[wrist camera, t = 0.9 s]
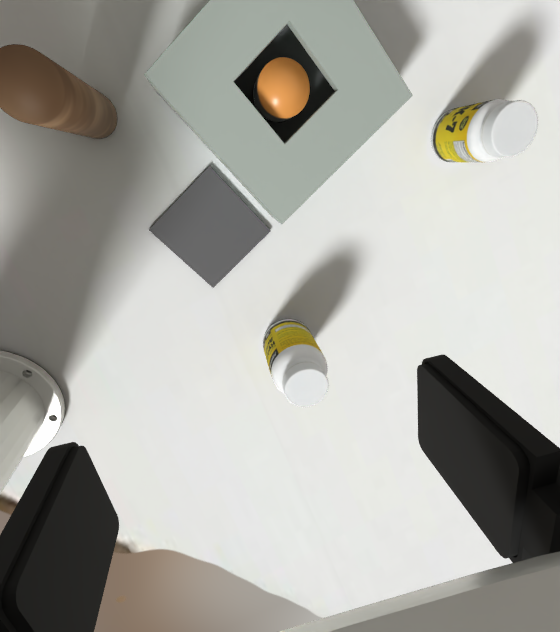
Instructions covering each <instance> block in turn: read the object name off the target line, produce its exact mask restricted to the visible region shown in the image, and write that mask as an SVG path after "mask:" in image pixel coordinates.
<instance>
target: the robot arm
mask: <svg viewBox="0 0 560 632" xmlns="http://www.w3.org/2000/svg"><path fill="white" fill-rule="evenodd" d="M417 385H418V439H419V444H420V446H421V448H422V450H423V452H424V453H425V454H426V456H427V457H428V459H429V460H430V461H431V463H432V464H433V465H434V467H435V468H436V469H437V471H438V472H439V473H440V475H441V476H442V477H443V479H444V480H445V481H446V483H447V484H448V485H449V487H450V488H451V490H452V491H453V492H454V494H455V495H456V496H457V498H458V499H459V500H460V502H461V503H462V504H463V506H464V507H465V508H466V510H467V511H468V512H469V514H470V515H471V517H472V518H473V519H474V521H475V522H476V523H477V525H478V526H479V527H480V529H481V530H482V531H483V533H484V534H485V535H486V537H487V538H488V539H489V541H490V542H491V543H492V545H493V546H494V548H495V549H496V550H497V552H498V553H499V554H500V555H501V556H502V557H503V558H510V560H511V561H512V562H513V563H512V564H508V565H504V566H501V567H497V568H493V569H490V570H486V571H482V572H479V573H475V574H472V575H468V576H465V577H461V578H458V579H455V580H451V581H448V582H444V583H441V584H438V585H434V586H431V587H427V588H424V589H420V590H417V591H414V592H410V593H407V594H403V595H400V596H397V597H393V598H390V599H386V600H383V601H380V602H376V603H373V604H369V605H366V606H363V607H359V608H356V609H353V610H349V611H346V612H342V613H339V614H336V615H332V616H329V617H326V618H322V619H319V620H316V621H313V622H309V623H306V624H302V625H299V626H296V627H292V628H289V629H286V630H283V631H279V632H560V448H559V447H557V446H556V445H555V444H554V443H552V442H551V441H550V440H549V439H548V438H546V437H545V436H544V435H543V434H541V433H540V432H539V431H538V430H537V429H535V428H534V427H533V426H532V425H530V424H529V423H528V422H527V421H526V420H524V419H523V418H522V417H521V416H519V415H518V414H517V413H516V412H514V411H513V410H512V409H511V408H510V407H508V406H507V405H506V404H505V403H503V402H502V401H501V400H500V399H499V398H497V397H496V396H495V395H494V394H492V393H491V392H490V391H489V390H488V389H486V388H485V387H484V386H483V385H481V384H480V383H479V382H478V381H477V380H475V379H474V378H473V377H472V376H470V375H469V374H468V373H467V372H466V371H464V370H463V369H462V368H461V367H459V366H458V365H457V364H456V363H454V362H453V361H452V360H451V359H450V358H448V357H447V356H445V355H439V356H435V357H430V358H426V359H424V360H423V362H422V365H419V366H418V368H417ZM64 412H65V404H64V399H63V395H62V393H61V391H60V388H59V386H58V385H57V384H56V382H55V381H54V379H53V378H52V377H51V376H50V375H49V374H48V373H47V372H46V371H45V370H44V369H42V368H41V367H40V366H38V365H37V364H35V363H34V362H32V361H30V360H28V359H26V358H24V357H22V356H19V355H16V354H13V353H9V352H5V351H0V494H1V492H2V491H3V489H4V487H5V486H6V484H7V483H8V481H9V479H10V478H11V476H12V475H13V473H14V471H15V470H16V468H17V467H18V465H19V463H20V462H21V460H22V459H23V457H24V456H27V455H30V454H33V453H35V452H36V451H38V450H40V449H42V448H43V447H44V446H46V445H47V444H48V443H49V442H50V441H51V440H52V439H53V438H54V436H55V435H56V434H57V432H58V430H59V428H60V426H61V424H62V421H63V418H64ZM118 530H119V520H118V516H117V514H116V512H115V510H114V507H113V505H112V503H111V501H110V499H109V497H108V495H107V492H106V490H105V488H104V486H103V484H102V482H101V480H100V477H99V475H98V473H97V471H96V469H95V467H94V465H93V462H92V460H91V458H90V456H89V454H88V452H87V450H86V448H85V447H84V446H78V444H77V443H75V442H71V443H67V444H63V445H59V446H54V447H51V448H49V449H48V451H47V452H46V454H45V456H44V458H43V459H42V461H41V463H40V465H39V467H38V468H37V470H36V472H35V474H34V476H33V477H32V479H31V481H30V483H29V485H28V486H27V488H26V490H25V492H24V494H23V495H22V497H21V499H20V501H19V502H18V504H17V506H16V508H15V510H14V511H13V513H12V515H11V517H10V519H9V521H8V522H7V524H6V526H5V528H4V530H3V531H2V533H1V535H0V632H94V629H95V625H96V621H97V617H98V612H99V608H100V604H101V600H102V596H103V592H104V588H105V584H106V580H107V575H108V571H109V567H110V563H111V559H112V555H113V551H114V547H115V543H116V539H117V535H118Z"/></svg>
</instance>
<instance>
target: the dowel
mask: <svg viewBox="0 0 560 632" xmlns="http://www.w3.org/2000/svg"><path fill="white" fill-rule="evenodd" d="M0 108H1V109H2V110H3V111H5V112H6V113H7V114H8V115H10V116H11V117H13V118H15V119H17V120H19V121H21V122H25V123H29V124H33V125H38V126H42V127H47V128H51V129H55V130H60V131H64V132H69V133H73V134H78V135H82V136H86V137H91V138H96V139H101V138H105V137H107V136H109V135H110V134H111V133H112V132H113V131H114V129H115V127H116V124H117V114H116V110H115V108H114V106H113V104H112V103H111V101H110V100H109V99H108V98H107V97H106V96H104V95H103V94H101V93H100V92H98V91H97V90H95V89H94V88H92V87H91V86H89V85H88V84H86V83H85V82H83V81H82V80H80V79H79V78H77V77H76V76H74V75H73V74H71V73H70V72H68V71H67V70H65V69H64V68H62V67H61V66H59V65H58V64H56V63H55V62H53V61H52V60H50V59H49V58H47V57H46V56H44V55H43V54H41V53H40V52H38V51H37V50H35V49H33V48H30V47H28V46H24V45H18V44H13V45H7V46H4V47H2V48H0Z"/></svg>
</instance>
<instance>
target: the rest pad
mask: <svg viewBox="0 0 560 632" xmlns="http://www.w3.org/2000/svg"><path fill="white" fill-rule="evenodd" d="M149 230H150V231H151V232H152V233H153V234H154V235H155V236H156V237H157V238H158V239H160V240H161V241H162V242H163V243H164V244H165V245H166V246H167V247H168V248H170V249H171V250H172V251H173V252H174V253H175V254H176V255H177V256H178V257H180V258H181V259H182V260H183V261H184V262H185V263H186V264H187V265H188V266H190V267H191V268H192V269H193V270H194V271H195V272H196V273H197V274H198V275H200V276H201V277H202V278H203V279H204V280H205V281H206V282H207V283H208V284H210V285H211V286H212V287H214V286H215V285H216V284H217V283H219V282H220V281H221V280H222V279H223V278H224V277H225V276H226V275H227V274H228V273H229V272H230V271H231V270H232V269H233V268H234V267H235V266H236V265H237V264H238V263H239V262H240V261H241V260H242V259H243V258H244V257H245V256H246V255H247V254H248V253H249V252H250V251H251V250H252V249H253V248H254V247H255V246H256V245H257V244H258V243H259V242H260V241H261V240H262V239H263V238H264V237H265V236H266V235H267V234H268V233H269V232H270V229H269V228H268V227H267V226H266V225H265V224H264V223H263V222H262V221H261V220H260V219H259V218H258V217H257V216H256V215H255V214H254V212H253V211H252V210H251V209H250V208H249V207H248V206H247V205H246V204H245V203H244V202H243V201H242V200H241V199H240V198H239V197H238V195H237V194H236V193H235V192H234V191H233V190H232V189H231V188H230V187H229V186H228V185H227V184H226V183H225V182H224V181H223V180H222V178H221V177H220V176H219V175H218V174H217V173H216V172H215V171H214V170H213V169H212V168H211V167H210V166H209V167H208V168H207V169H206V170H205V171H204V172H203V173H202V174H201V175H200V176H199V177H198V179H197V180H196V181H195V182H194V183H193V184H192V185H191V186H190V187H189V188H188V189H187V190H186V191H185V192H184V193H183V194H182V195H181V196H180V197H179V198H178V200H177V201H176V202H175V203H174V204H173V205H172V206H171V207H170V208H169V209H168V210H167V211H166V212H165V213H164V214H163V215H162V216H161V217H160V218H159V220H158V221H157V222H156V223H155V224H154V225H153V226H152V227H151V228H150V229H149Z"/></svg>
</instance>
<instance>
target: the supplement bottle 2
mask: <svg viewBox="0 0 560 632" xmlns="http://www.w3.org/2000/svg"><path fill="white" fill-rule="evenodd" d="M537 128H538V116H537V112H536V110H535V108H534V107H533V106H532V105H531V104H530V103H529V102H526V101H522V100H517V101H508V100H504V99H497V100H491V101H486V102H482V103H477V104H473V105H468V106H464V107H459V108H454V109H451V110H449V111H447V112H446V113H444V114H443V115H442V116H441V117H440V118H439V119H438V121H437V122H436V124H435V126H434V128H433V131H432V135H431V145H432V149H433V151H434V153H435V154H436V156H437V157H438V158H439V159H441V160H443V161H446V162H493V161H496V160H499V159H501V158H503V157H513V156H516V155H518V154H520V153H522V152H523V151H525V150H526V149H527V148H528V147H529V145H530V144H531V143H532V141H533V139H534V137H535V135H536V132H537Z"/></svg>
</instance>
